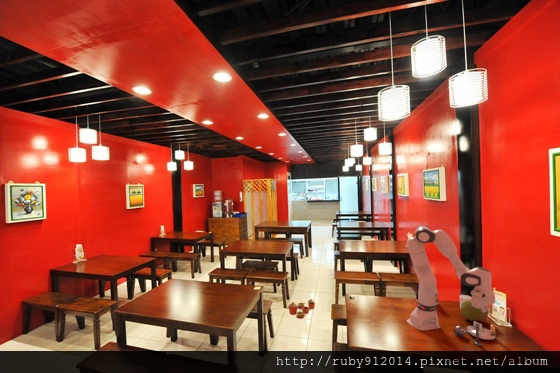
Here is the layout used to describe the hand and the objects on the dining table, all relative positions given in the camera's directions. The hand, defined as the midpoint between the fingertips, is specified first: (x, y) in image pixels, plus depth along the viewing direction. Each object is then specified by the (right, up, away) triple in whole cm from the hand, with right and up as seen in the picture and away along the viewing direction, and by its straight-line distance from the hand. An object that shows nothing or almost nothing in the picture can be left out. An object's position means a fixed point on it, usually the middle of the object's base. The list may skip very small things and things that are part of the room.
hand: (483, 311), depth 170 cm
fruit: (+6, -15, +16) cm, 23 cm away
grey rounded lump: (-16, -12, -1) cm, 21 cm away
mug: (+14, -15, +32) cm, 38 cm away
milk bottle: (-8, -16, +44) cm, 47 cm away
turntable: (-4, -14, -2) cm, 14 cm away
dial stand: (-13, -15, -11) cm, 23 cm away
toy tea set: (-121, -19, +38) cm, 129 cm away
